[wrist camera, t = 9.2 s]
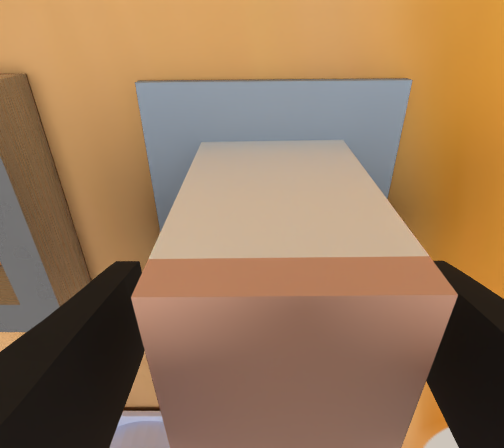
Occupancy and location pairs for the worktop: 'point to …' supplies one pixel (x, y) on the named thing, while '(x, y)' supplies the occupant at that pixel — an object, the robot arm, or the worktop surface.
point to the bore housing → (32, 218)
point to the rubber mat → (268, 121)
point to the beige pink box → (288, 303)
